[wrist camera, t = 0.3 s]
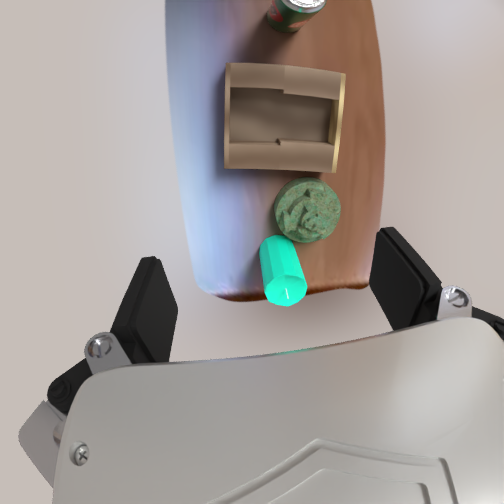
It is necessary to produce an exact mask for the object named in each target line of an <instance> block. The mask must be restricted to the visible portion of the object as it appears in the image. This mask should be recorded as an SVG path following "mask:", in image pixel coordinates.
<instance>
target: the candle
mask: <svg viewBox="0 0 504 504" xmlns="http://www.w3.org/2000/svg"><path fill="white" fill-rule="evenodd" d="M259 255H260V262H261V269H262V277H263V284H264V292H265V294H266V297H267V299H268V301H269V302H271V303H274V304H277V305H282V306H290V305H293V304H295V303H297V302H298V301H300V300H301V299H302V298H303V297H304V296H305V293H306V290H307V284H306V281H305V278H304V275H303V272H302V269H301V266H300V263H299V260H298V257H297V254H296V251H295V248H294V245H293V243H292V240H290V239H289V238H287V237H286V236H283V235H273V236H271V237H268V238H266V239H265V240H264V242H263V243H262V244H261V245H260V251H259Z"/></svg>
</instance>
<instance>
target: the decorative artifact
mask: <svg viewBox="0 0 504 504" xmlns="http://www.w3.org/2000/svg"><path fill="white" fill-rule="evenodd" d="M340 212H341V208H340V202H339V199H338V197H337V195H336V194H335V192H334V191H333V190H332V189H331V188H330V187H329V186H328V185H327V184H326V183H325V182H323V181H322V180H320V179H317V178H313V177H301V178H297V179H295V180H292V181H291V182H289V183H287V184H286V185H285V186H284V187H283V188H282V189H281V190H280V192H279V193H278V195H277V197H276V200H275V204H274V213H275V217H276V220H277V224H278V226H279V228H280V230H281V231H282V232H283V234H284V235H286V236H287V237H288V238H290V239H292V240H294V241H297V242H305V243H306V242H314V241H317V240H320V239H322V238H323V239H325V238H326V237H328V236H329V235H330V234H331V233H332V232H333V230H334V229H335V227H336V224H337V223H338V220H339V217H340Z"/></svg>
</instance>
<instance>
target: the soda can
mask: <svg viewBox="0 0 504 504" xmlns="http://www.w3.org/2000/svg"><path fill="white" fill-rule="evenodd" d="M326 1H327V0H272V2H271V5H270V7H269V10H268V12H267V20H268V23H269V24H270V25H271V26H272V27H273V28H274V29H276V30H277V31H280V32H284V33H291V32H295V31H297V30H299V29H300V28H301V27H302V26H303V25H304V24H305V23H306V22H308V21H309V20H310V19H311V18H312V17H313V16H314V15H315V14H317V13H318V12H319V11H320V10H321V9H322V8H323V7H324V6H325V4H326Z"/></svg>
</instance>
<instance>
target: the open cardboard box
mask: <svg viewBox="0 0 504 504" xmlns="http://www.w3.org/2000/svg"><path fill="white" fill-rule="evenodd" d="M345 77H346V74H343V73H338V72H332V71H326V70H320V69H313V68H306V67H298V66H288V65H276V64H261V63H226V74H225V122H224V169H276V170H298V171H314V172H328V173H336V166H337V159H338V151H339V143H340V134H341V124H342V114H343V103H344V91H345Z"/></svg>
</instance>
